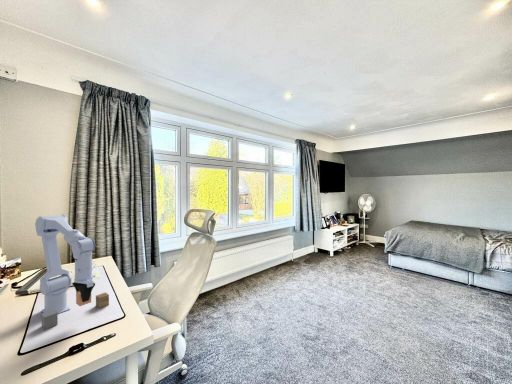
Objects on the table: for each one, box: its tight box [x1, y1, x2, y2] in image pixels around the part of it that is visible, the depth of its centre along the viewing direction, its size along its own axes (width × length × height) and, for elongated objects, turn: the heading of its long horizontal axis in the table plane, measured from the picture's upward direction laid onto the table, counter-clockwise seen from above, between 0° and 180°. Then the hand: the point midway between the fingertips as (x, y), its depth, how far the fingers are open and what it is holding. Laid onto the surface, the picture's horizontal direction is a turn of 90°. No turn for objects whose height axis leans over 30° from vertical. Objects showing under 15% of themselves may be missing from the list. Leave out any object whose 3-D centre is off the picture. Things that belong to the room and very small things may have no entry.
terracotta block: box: [75, 291, 92, 307], centre depth 93 cm, size 4×4×5 cm
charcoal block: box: [41, 310, 59, 331], centre depth 90 cm, size 4×4×5 cm
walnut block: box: [95, 292, 110, 309], centre depth 106 cm, size 4×4×5 cm
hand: (83, 299), depth 93 cm, fingers closed on terracotta block, 4 cm apart
